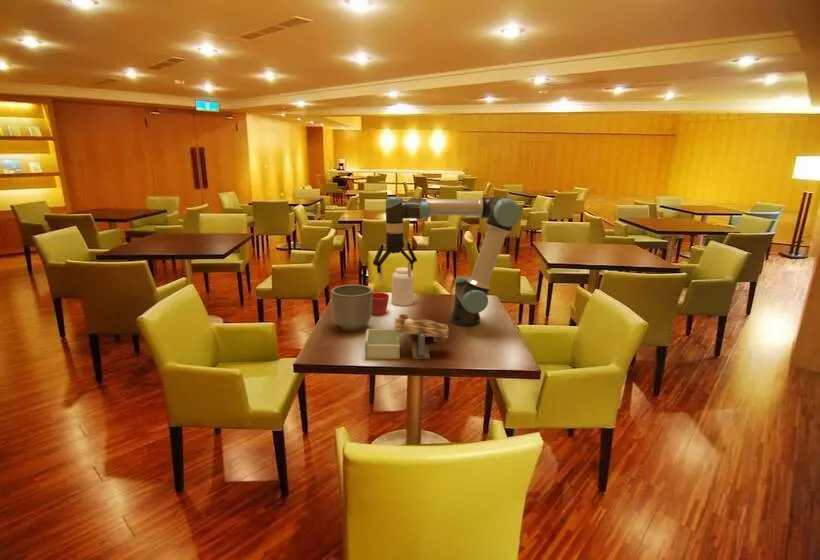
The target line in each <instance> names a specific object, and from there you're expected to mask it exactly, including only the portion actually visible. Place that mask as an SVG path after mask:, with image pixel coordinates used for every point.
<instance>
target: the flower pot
mask: <svg viewBox="0 0 820 560" xmlns="http://www.w3.org/2000/svg"><path fill="white" fill-rule="evenodd" d="M389 298H390V295H389V294H388V293H385V292H373V302H372V313H371V315H374V316H383V315H385V314H386V313H387V308H388V306H389V305H388V304H389Z"/></svg>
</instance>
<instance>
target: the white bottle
mask: <svg viewBox="0 0 820 560" xmlns="http://www.w3.org/2000/svg"><path fill="white" fill-rule="evenodd" d="M394 271H395V272H393V273H392V275H391V303H392V305H396V306H400V307H402V306H403V307H406V306H411V305H413V304H414V301H415V300H414V299H415V298H414V296H415V295H414V292H415V275H414V273H413V272H412V271H411V278H409V277H408V267H404V266H400V267H396V268H395V270H394Z"/></svg>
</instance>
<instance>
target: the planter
mask: <svg viewBox="0 0 820 560" xmlns="http://www.w3.org/2000/svg"><path fill="white" fill-rule="evenodd" d="M373 293H374V291H373V288H372V287H370V286H367V285H363V284H344V285H343V284H342V285H337V286H334V287H333V288H332V289H331V290H330V299H331V310H332V315H333V320H334V322H335V323H336V324H337V325H338V326H339V327H340V328H341V330H343V331H344V332H349V333H351V332H352V333H353V332H354V333H355V332H359V331H362V330H363V329H364V328H365V326H367V324H368V323H369V322H370V319H371V318H372V302H373Z"/></svg>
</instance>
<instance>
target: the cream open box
mask: <svg viewBox="0 0 820 560" xmlns="http://www.w3.org/2000/svg"><path fill="white" fill-rule="evenodd" d="M364 344H365V345H364V350H365V351H364V354H365V355H364V359H365V360H400V359H401V358H400V357H401V355H400V353H401V349H400V348H401V345H400V344H401V343H400V332H395V328H367V329H366V331H365V341H364Z"/></svg>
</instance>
